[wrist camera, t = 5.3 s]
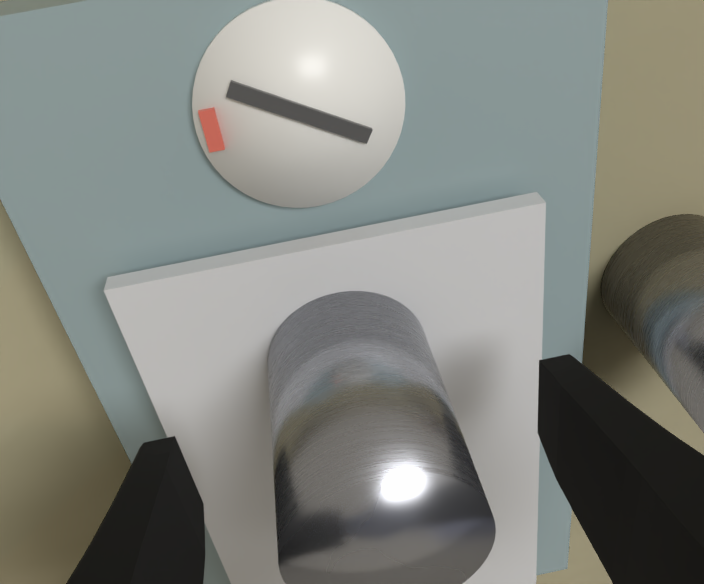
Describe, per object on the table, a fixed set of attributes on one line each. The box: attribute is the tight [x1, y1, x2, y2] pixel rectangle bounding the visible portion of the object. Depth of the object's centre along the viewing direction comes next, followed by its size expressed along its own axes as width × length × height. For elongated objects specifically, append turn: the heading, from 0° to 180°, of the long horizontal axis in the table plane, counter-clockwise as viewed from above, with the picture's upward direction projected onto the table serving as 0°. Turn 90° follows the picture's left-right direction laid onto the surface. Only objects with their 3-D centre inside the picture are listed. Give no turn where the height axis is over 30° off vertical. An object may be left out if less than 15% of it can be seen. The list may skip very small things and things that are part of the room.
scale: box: [0, 0, 608, 584], centre depth 17 cm, size 20×12×3 cm, turn 8°
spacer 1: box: [267, 291, 496, 584], centre depth 13 cm, size 4×4×5 cm
